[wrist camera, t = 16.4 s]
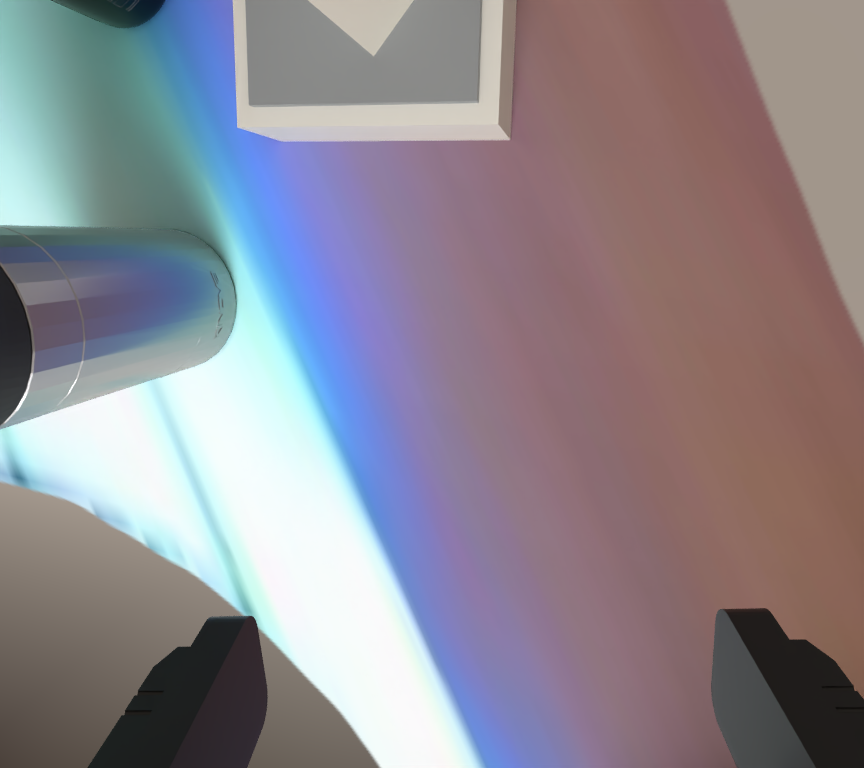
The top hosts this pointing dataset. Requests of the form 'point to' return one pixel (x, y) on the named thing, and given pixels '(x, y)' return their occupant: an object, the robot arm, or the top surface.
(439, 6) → the podium
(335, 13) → the carton
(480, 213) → the top surface
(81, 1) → the supplement bottle
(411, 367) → the top surface
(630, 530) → the top surface
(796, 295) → the top surface
